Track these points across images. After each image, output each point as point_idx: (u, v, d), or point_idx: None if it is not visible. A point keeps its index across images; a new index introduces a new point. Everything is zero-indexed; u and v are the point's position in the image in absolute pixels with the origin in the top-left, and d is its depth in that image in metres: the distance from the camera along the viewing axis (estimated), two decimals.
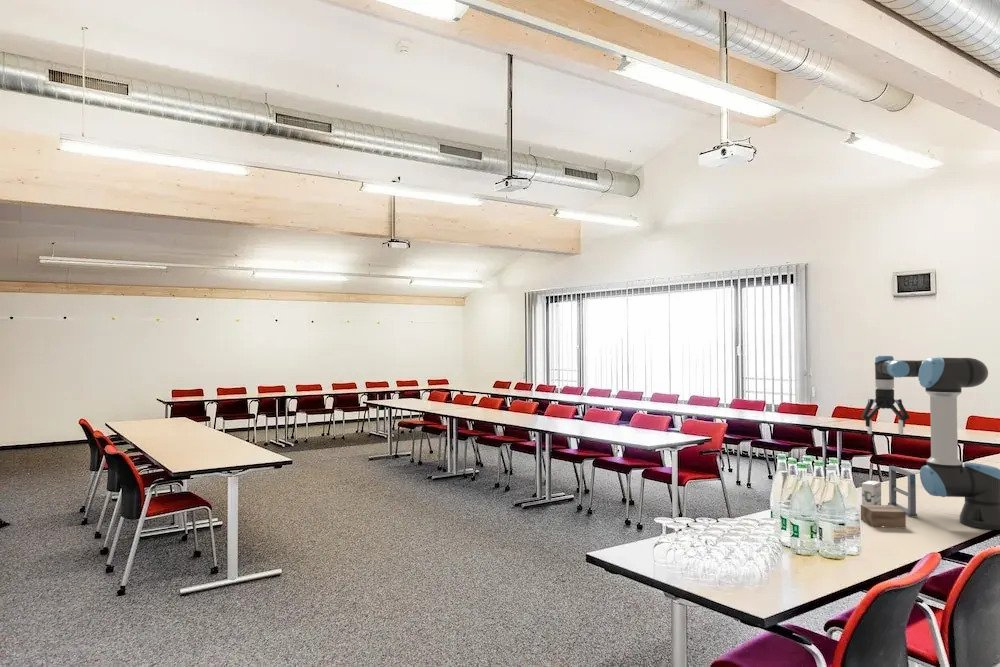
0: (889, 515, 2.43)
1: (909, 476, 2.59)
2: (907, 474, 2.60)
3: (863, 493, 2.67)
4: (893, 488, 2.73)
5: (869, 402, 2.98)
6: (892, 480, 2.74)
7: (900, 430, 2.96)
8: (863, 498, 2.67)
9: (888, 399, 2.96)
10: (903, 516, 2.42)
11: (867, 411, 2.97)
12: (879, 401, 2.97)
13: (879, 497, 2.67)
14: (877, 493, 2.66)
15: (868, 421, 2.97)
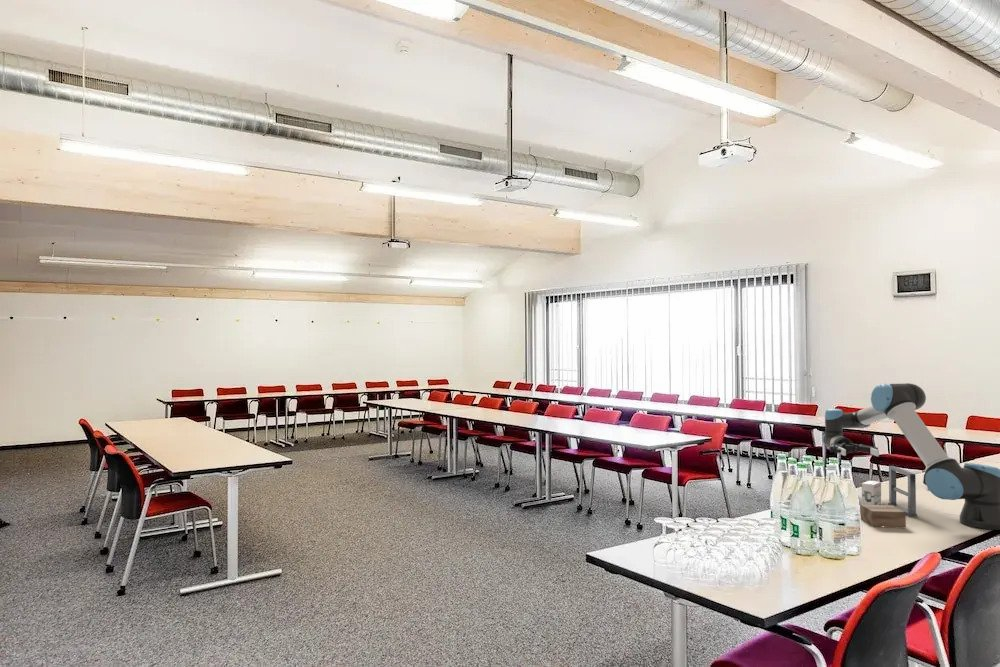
0: (889, 515, 2.43)
1: (909, 476, 2.59)
2: (907, 474, 2.60)
3: (863, 493, 2.67)
4: (893, 488, 2.73)
5: None
6: (892, 480, 2.74)
7: (875, 451, 2.79)
8: (863, 498, 2.67)
9: (848, 444, 2.94)
10: (903, 516, 2.42)
11: (832, 445, 2.90)
12: (840, 444, 2.94)
13: (879, 497, 2.67)
14: (877, 493, 2.66)
15: (837, 448, 2.85)
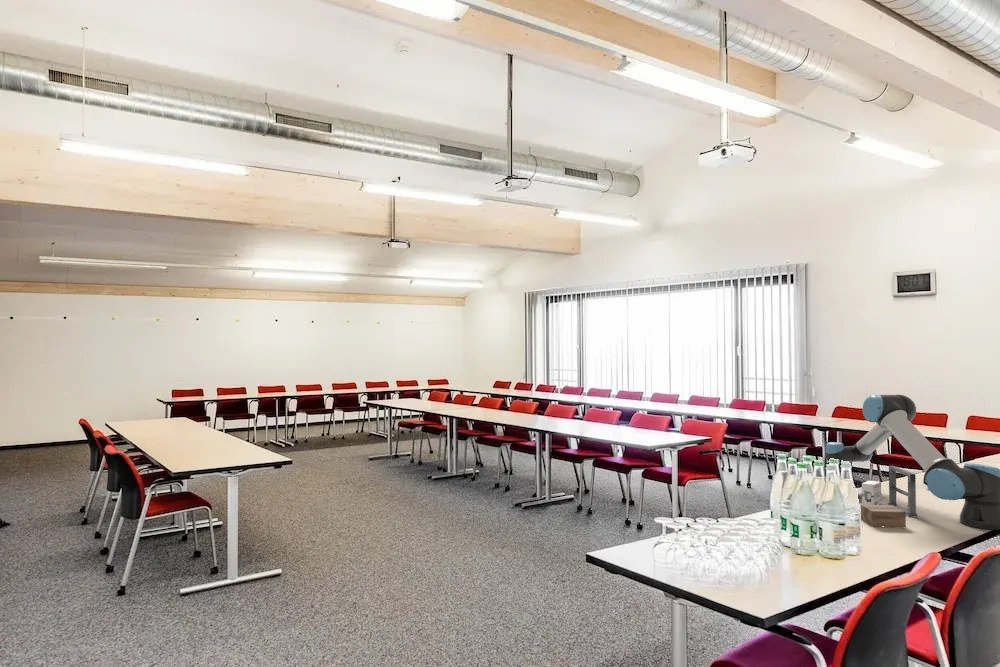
0: (889, 515, 2.43)
1: (909, 476, 2.59)
2: (907, 474, 2.60)
3: (863, 493, 2.67)
4: (893, 488, 2.73)
5: None
6: (892, 480, 2.74)
7: None
8: (863, 498, 2.67)
9: None
10: (903, 516, 2.42)
11: None
12: None
13: (879, 497, 2.67)
14: (877, 493, 2.66)
15: None
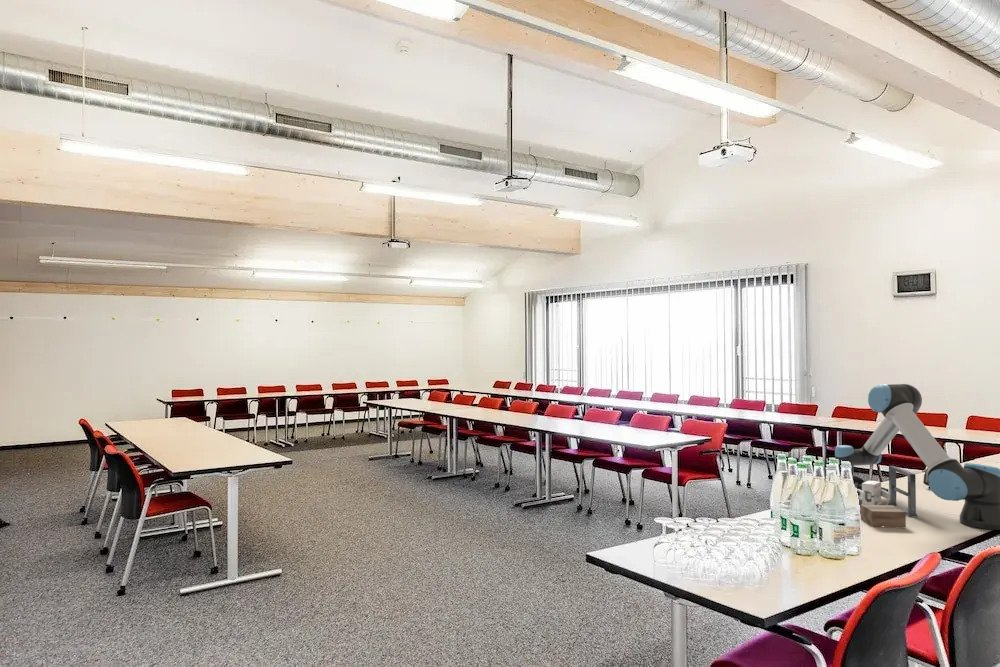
0: (889, 515, 2.43)
1: (909, 476, 2.59)
2: (907, 474, 2.60)
3: None
4: (893, 488, 2.73)
5: None
6: (892, 480, 2.74)
7: (886, 494, 2.65)
8: None
9: (861, 483, 2.81)
10: (903, 516, 2.42)
11: None
12: None
13: (879, 497, 2.67)
14: (877, 493, 2.66)
15: None
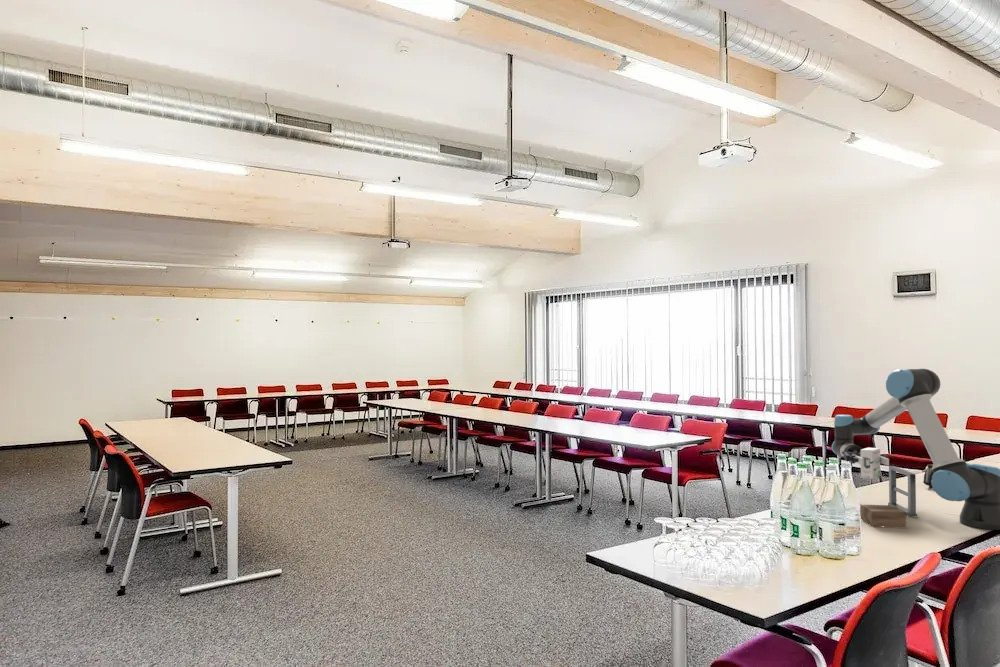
0: (889, 515, 2.43)
1: (909, 476, 2.59)
2: (907, 474, 2.60)
3: None
4: (893, 488, 2.73)
5: (843, 454, 2.76)
6: (892, 480, 2.74)
7: (885, 460, 2.61)
8: None
9: None
10: (903, 516, 2.42)
11: (846, 454, 2.71)
12: (851, 452, 2.77)
13: (878, 464, 2.63)
14: (876, 459, 2.62)
15: (854, 457, 2.66)
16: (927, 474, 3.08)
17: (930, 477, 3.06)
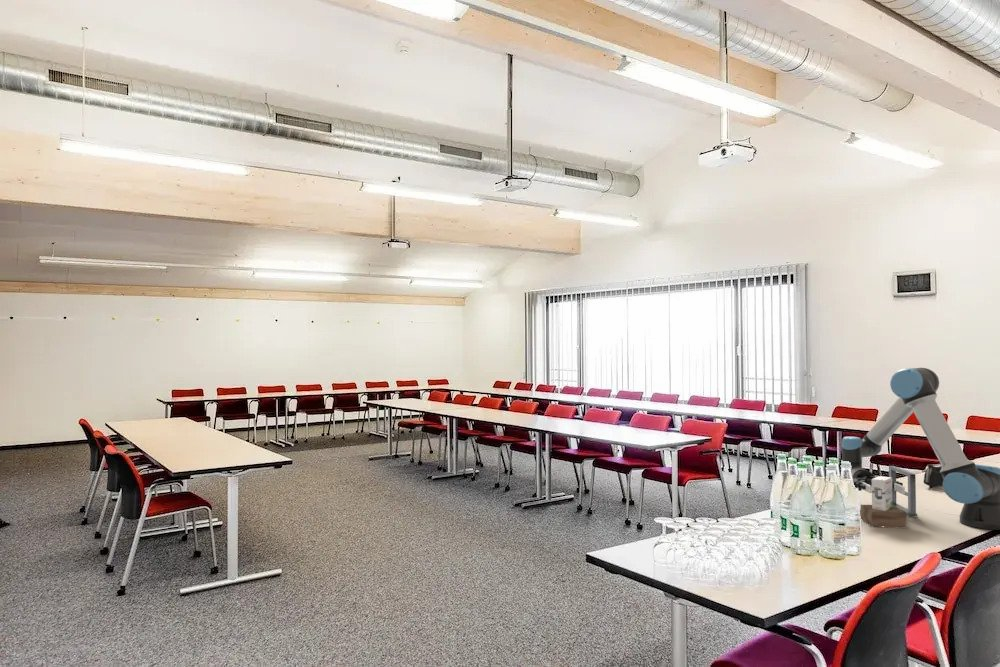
0: (889, 515, 2.43)
1: (909, 476, 2.59)
2: (907, 474, 2.60)
3: (873, 490, 2.47)
4: None
5: None
6: (892, 480, 2.74)
7: (900, 488, 2.45)
8: (873, 495, 2.47)
9: (870, 477, 2.61)
10: (903, 516, 2.42)
11: (853, 480, 2.56)
12: (861, 478, 2.60)
13: (890, 494, 2.47)
14: (888, 490, 2.46)
15: (861, 484, 2.51)
16: (927, 474, 3.08)
17: (930, 477, 3.07)
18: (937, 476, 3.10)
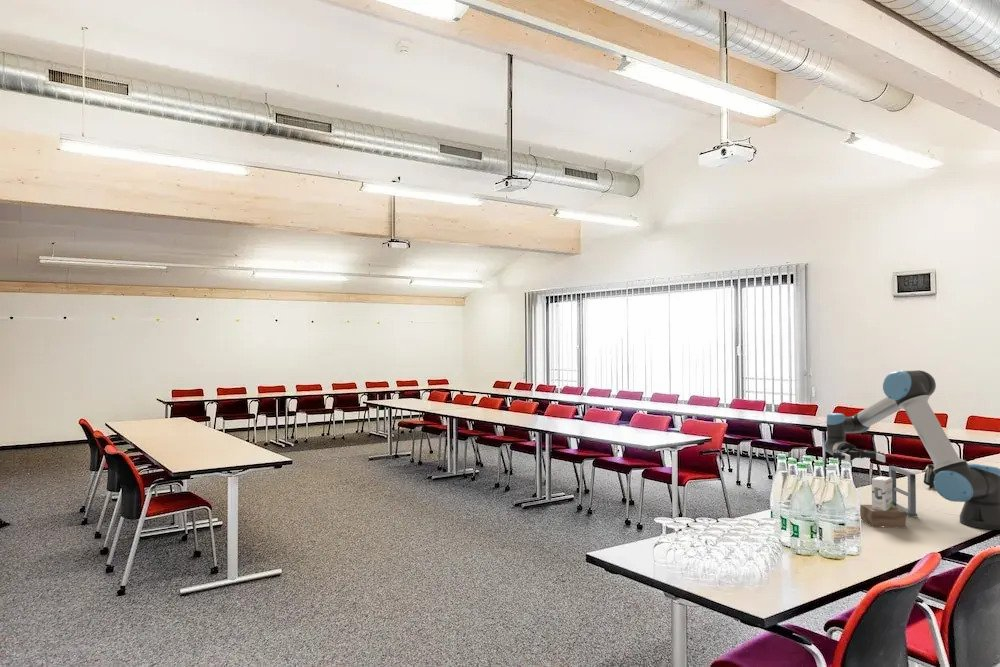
0: (889, 515, 2.43)
1: (909, 476, 2.59)
2: (907, 474, 2.60)
3: (873, 490, 2.47)
4: (893, 488, 2.73)
5: None
6: (892, 480, 2.74)
7: (881, 457, 2.62)
8: (873, 495, 2.47)
9: (852, 450, 2.77)
10: (903, 516, 2.42)
11: (835, 451, 2.73)
12: (844, 450, 2.77)
13: (890, 494, 2.47)
14: (888, 490, 2.46)
15: (841, 454, 2.68)
16: (927, 474, 3.08)
17: (930, 477, 3.07)
18: None
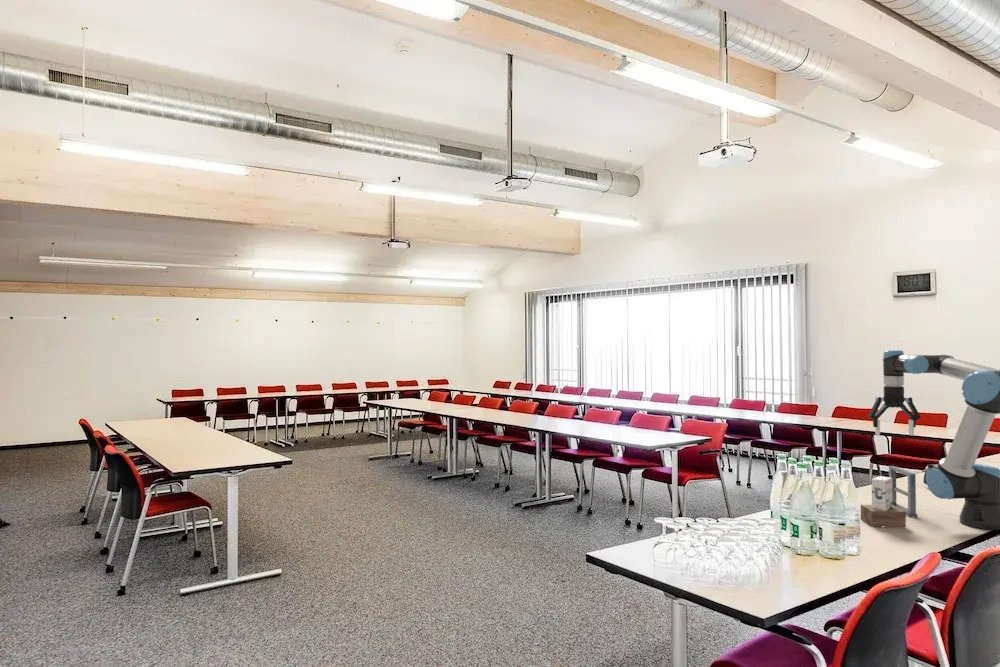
0: (889, 515, 2.43)
1: (909, 476, 2.59)
2: (907, 474, 2.60)
3: (873, 490, 2.47)
4: (893, 488, 2.73)
5: (877, 400, 2.76)
6: (892, 480, 2.74)
7: (910, 431, 2.74)
8: (873, 495, 2.47)
9: (897, 397, 2.74)
10: (903, 516, 2.42)
11: (875, 410, 2.75)
12: (888, 399, 2.75)
13: (890, 494, 2.47)
14: (888, 490, 2.46)
15: (876, 421, 2.75)
16: None
17: None
18: None
